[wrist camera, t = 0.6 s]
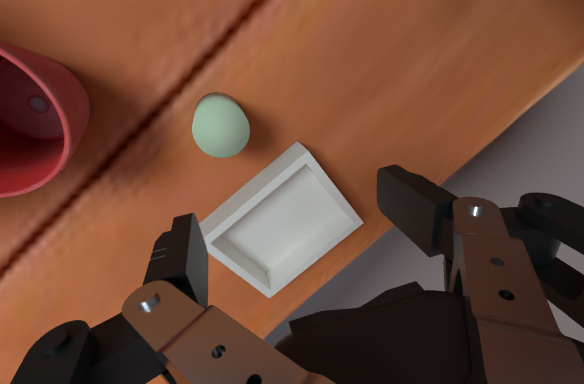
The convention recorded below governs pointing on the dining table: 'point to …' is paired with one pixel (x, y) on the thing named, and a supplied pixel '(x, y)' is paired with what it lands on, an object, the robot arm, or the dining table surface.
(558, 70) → the dining table surface
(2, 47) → the flower pot
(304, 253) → the serving dish
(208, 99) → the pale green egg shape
